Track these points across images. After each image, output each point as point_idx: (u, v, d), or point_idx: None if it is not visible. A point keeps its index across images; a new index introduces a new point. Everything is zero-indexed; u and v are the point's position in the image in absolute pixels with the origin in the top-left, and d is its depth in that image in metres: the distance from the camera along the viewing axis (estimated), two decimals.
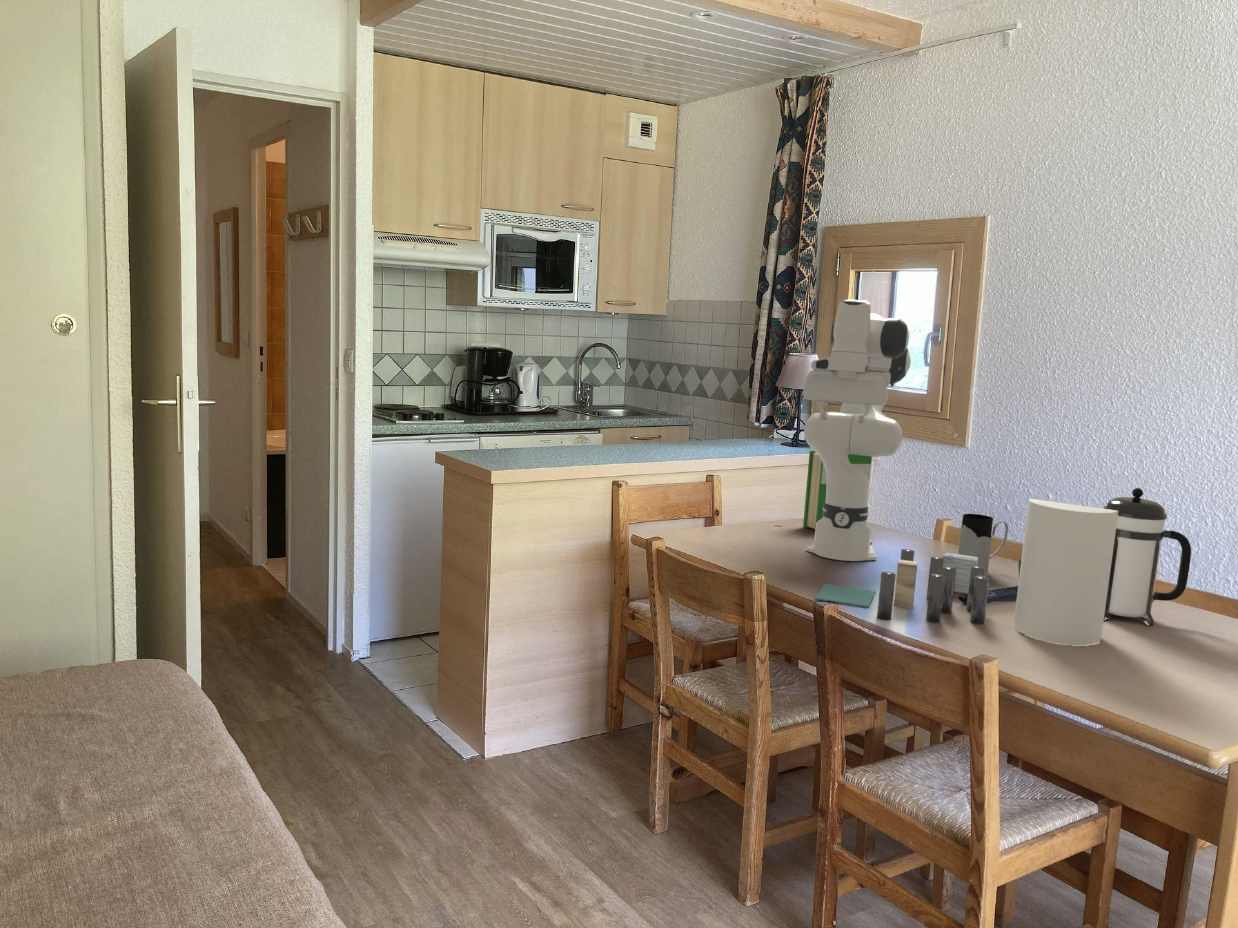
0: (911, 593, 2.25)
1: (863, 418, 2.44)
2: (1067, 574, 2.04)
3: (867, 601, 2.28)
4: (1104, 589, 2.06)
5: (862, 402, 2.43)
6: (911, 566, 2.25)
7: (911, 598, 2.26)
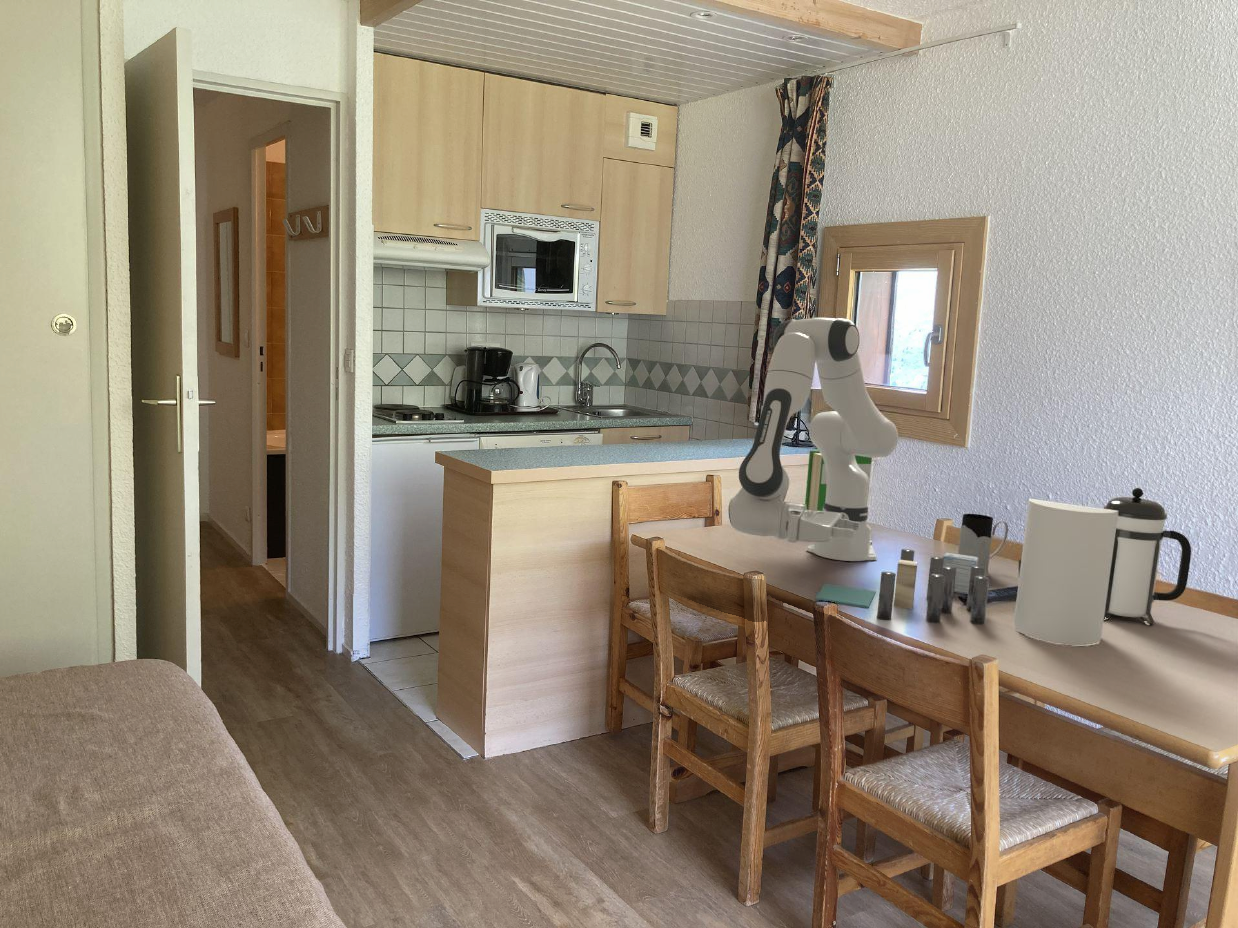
0: (911, 593, 2.25)
1: (854, 521, 2.35)
2: (1067, 574, 2.04)
3: (867, 601, 2.28)
4: (1104, 589, 2.06)
5: (838, 516, 2.36)
6: (911, 566, 2.25)
7: (911, 598, 2.26)
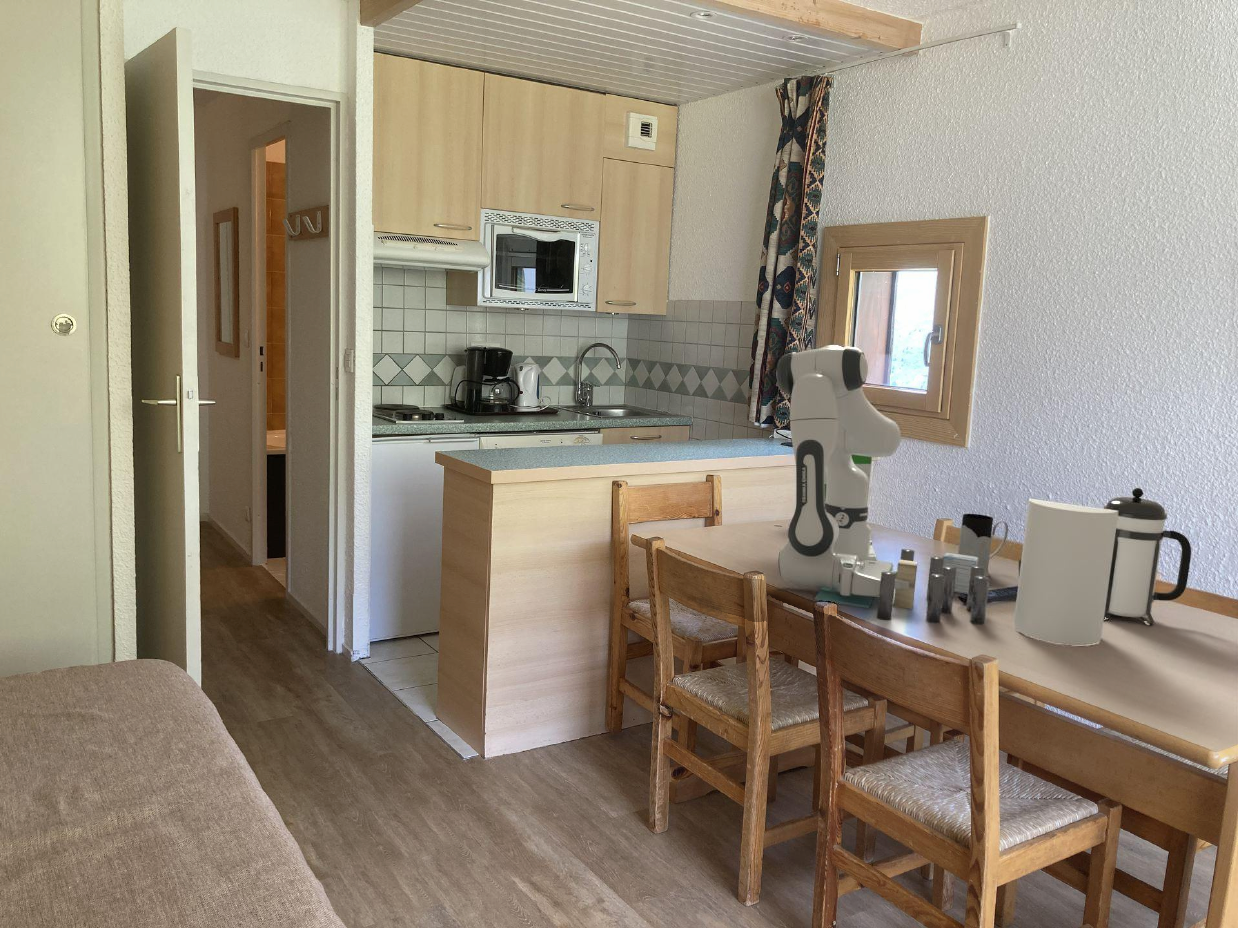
0: (911, 593, 2.25)
1: None
2: (1067, 574, 2.04)
3: (867, 601, 2.28)
4: (1104, 589, 2.06)
5: (890, 567, 2.33)
6: (911, 566, 2.25)
7: (911, 598, 2.26)
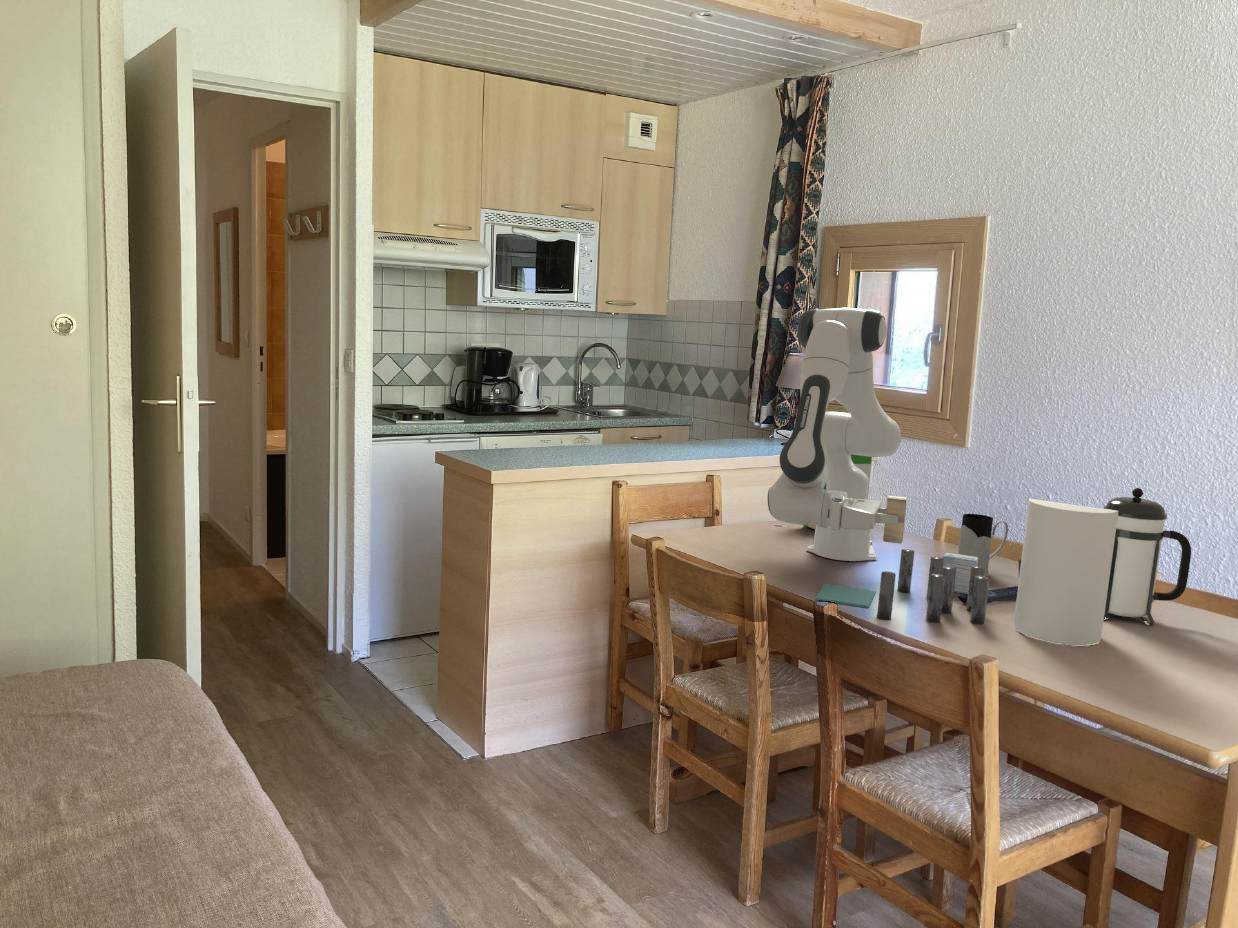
0: (900, 528, 2.24)
1: None
2: (1067, 574, 2.04)
3: (867, 601, 2.28)
4: (1104, 589, 2.06)
5: (879, 504, 2.32)
6: (900, 500, 2.24)
7: (900, 533, 2.24)
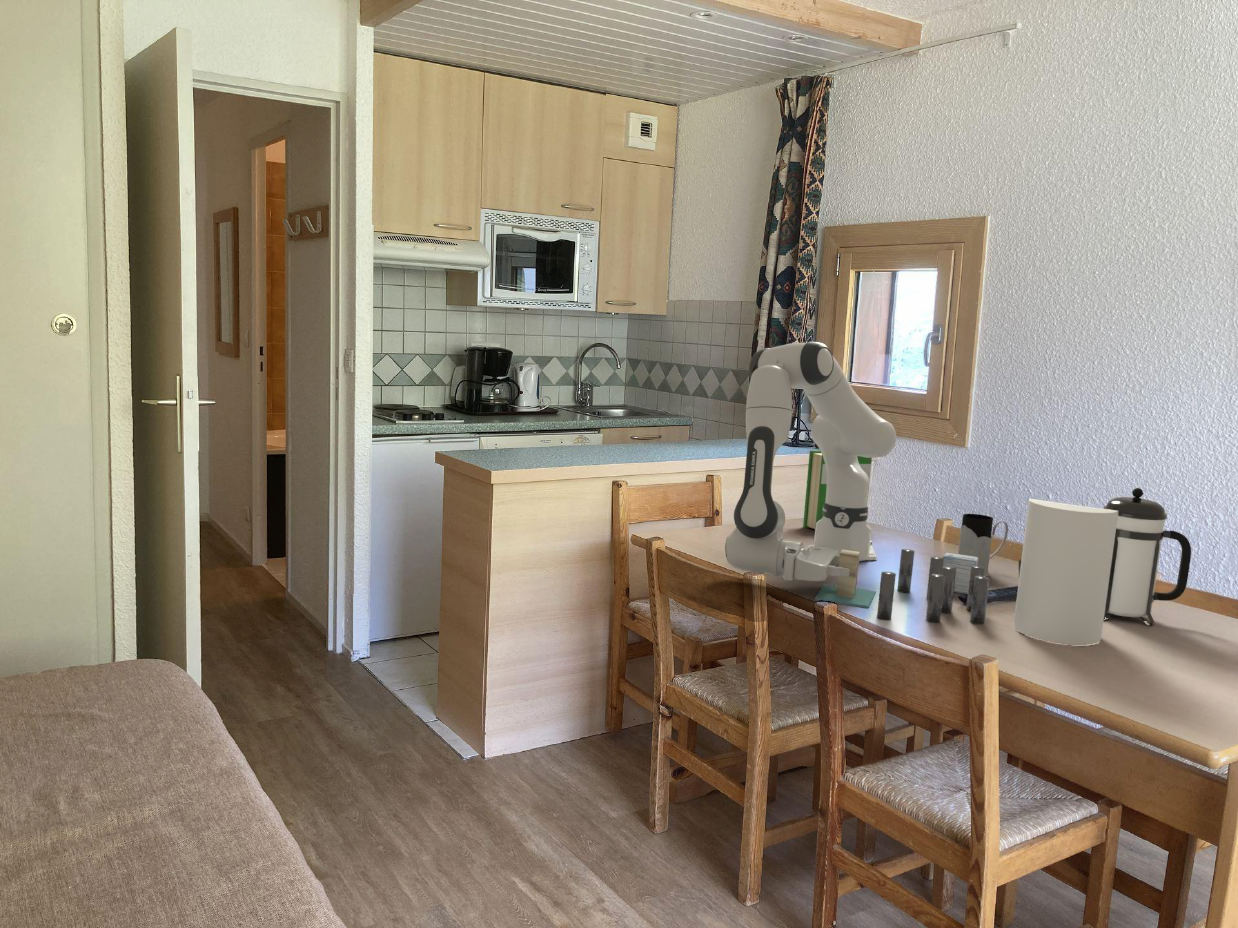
0: (853, 582, 2.30)
1: None
2: (1067, 574, 2.04)
3: (867, 601, 2.28)
4: (1104, 589, 2.06)
5: (834, 553, 2.37)
6: (852, 556, 2.29)
7: (853, 587, 2.30)
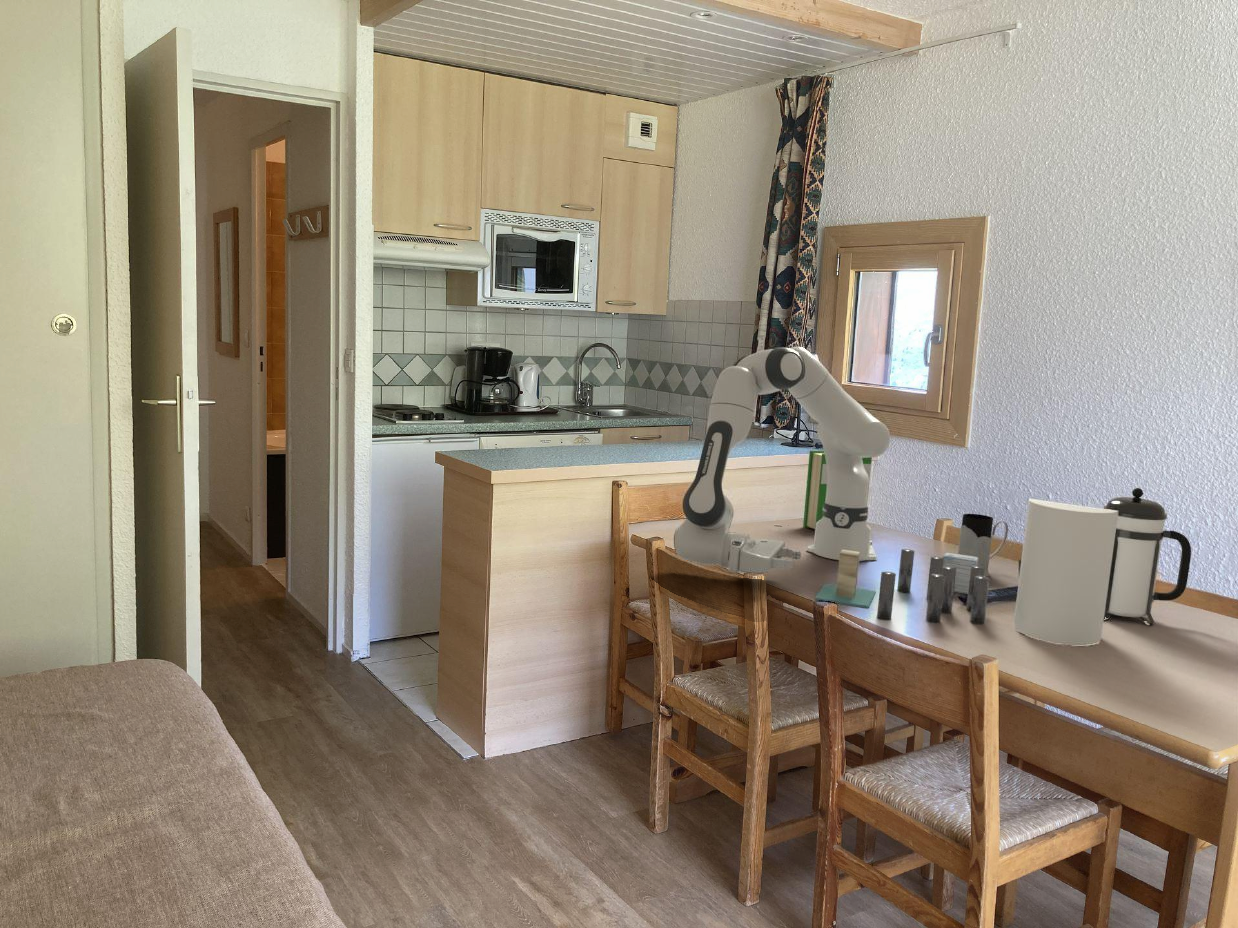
0: (853, 582, 2.30)
1: None
2: (1067, 574, 2.04)
3: (867, 601, 2.28)
4: (1104, 589, 2.06)
5: (780, 545, 2.42)
6: (852, 556, 2.29)
7: (853, 587, 2.30)
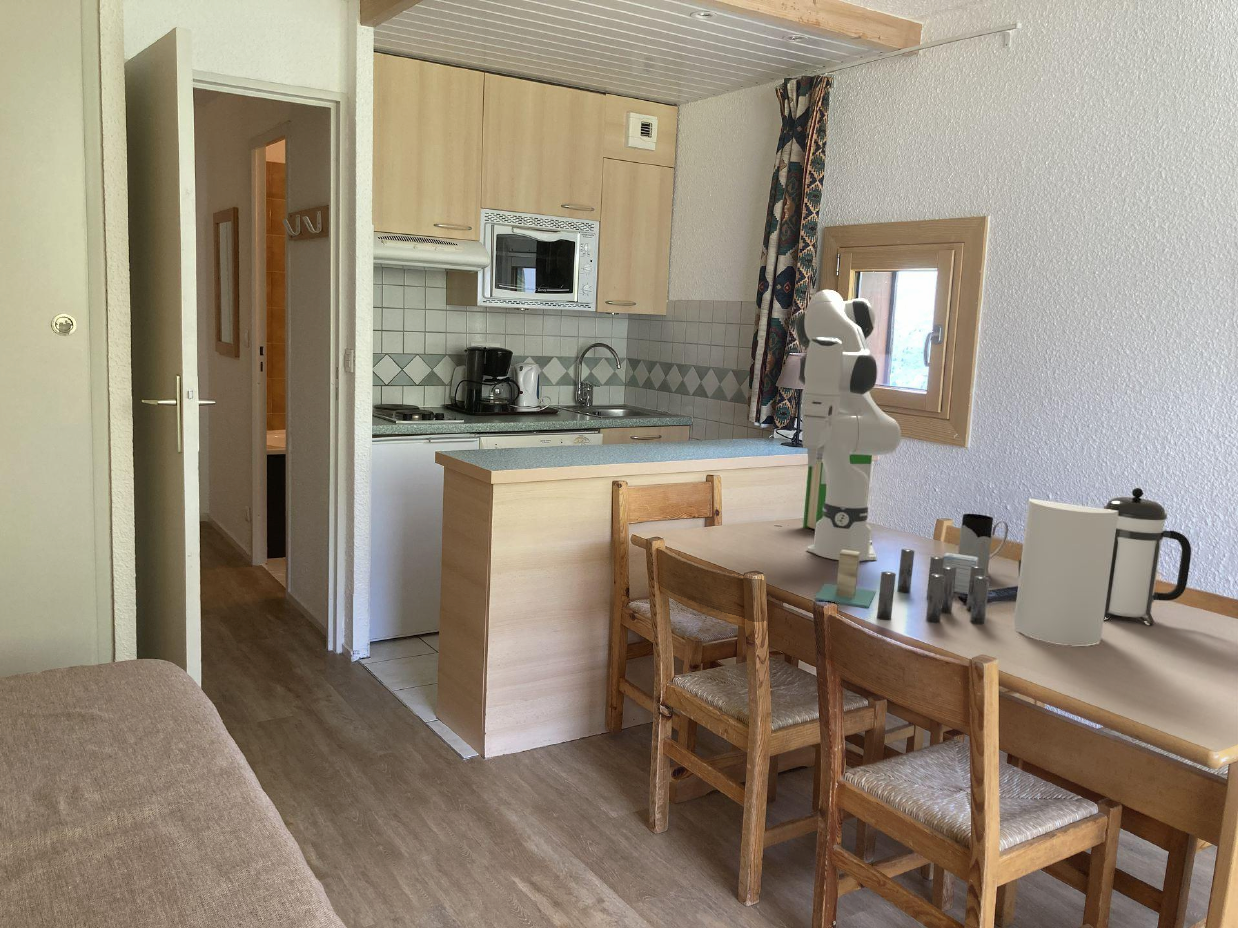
0: (853, 582, 2.30)
1: (822, 456, 2.44)
2: (1067, 574, 2.04)
3: (867, 601, 2.28)
4: (1104, 589, 2.06)
5: (827, 441, 2.42)
6: (852, 556, 2.29)
7: (853, 587, 2.30)
